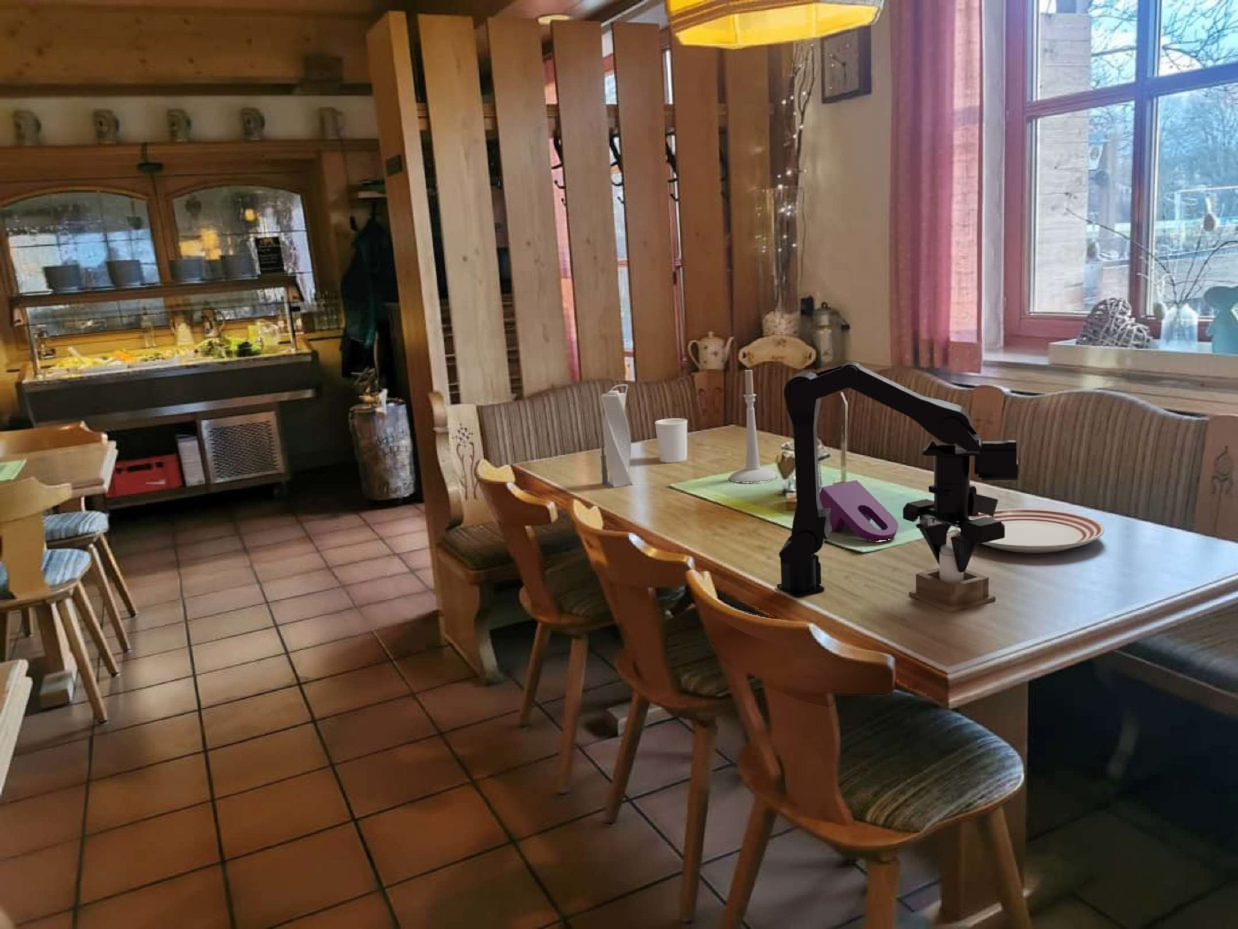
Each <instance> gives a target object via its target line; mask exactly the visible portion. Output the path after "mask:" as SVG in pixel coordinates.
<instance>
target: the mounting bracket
mask: <svg viewBox="0 0 1238 929" xmlns="http://www.w3.org/2000/svg"><path fill="white" fill-rule="evenodd" d="M819 495H820V501H821V504H822V507H823V509H825V508H831V512H830V524H831V526H832V529H831V530H832V531H831V532H836V531H840V530H843V529H844V528H845V526H846V525H848V526H849V528H850V529H851V530H852V531H853V532H854V533H855V534H856V535H857V536H859V537H860V538H862V539H864V540H866V541H868V540H871V541H879V540H888V539H892V538H893V537H894V536H895V537H896V534H897V531H898V529H899V523H898V520H897V519H896V518H895V516H893V515H892V514H891V513H890V511H888V510H887V509H886V508H885V507H884V505H882V503H881V502H879V501H878V499H877V498H876V497H874V496H873V495H872V494H871V493H870V492H869V491H868V490H867V489H866V488H865V487H864V486H863V485H862V484H861V483H860V482H859V481H858V480H857V479H854V480H850V481H845V482H839V483H835V484H831V485H830V484H829V485H825V486H822V487H821V488H820V491H819ZM871 520H872V521H873V522H874V524H876V525H877V527H879V528H880V529H878V528H877V527H875V526H874V524H872V523H871ZM839 529H840V530H839ZM835 530H836V531H835ZM895 537H894V538H895ZM894 538H893V539H894ZM893 539H892V540H893ZM871 541H870V542H871Z"/></svg>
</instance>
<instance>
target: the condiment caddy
mask: <svg viewBox="0 0 1238 929" xmlns="http://www.w3.org/2000/svg"><path fill="white" fill-rule="evenodd" d="M989 579H990V578H989V576H988V577H987V575H986V576H985V575H983V574H980V573H978V572H976V571H972V570H970V569H967V568H966V570H965V572H964V581H961V582H957V583H953V584H949V583H946V582H944V581H942V580H939V567H937V568H933V569H929V570H924V571H920V572H917V573H915V589H913V590H910V591H909V592H908V593H909V594H908V595H909V596H911V597H914V598H916V599H918V600H921V601H923V602H924V603H927V604H929V605H931V606H934V607H936V608H938V609H939V610H940V609H941V610H942V611H945V612H947V613H953V612H957V611H961V610H964V609H967V608H968V609H969V608H972V607H976V606H980V605H982V604H986V603H987V604H988V603H990V602H993V601H994V602H995V601H997V600H996V595H992V594H990V593H989V592H990V591H989V587H990V586H989V584H990V583H989V581H990V580H989Z"/></svg>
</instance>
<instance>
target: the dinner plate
mask: <svg viewBox="0 0 1238 929" xmlns="http://www.w3.org/2000/svg"><path fill="white" fill-rule="evenodd" d="M982 517H988V518H991V519H994V520H998V521H1001V522H1002V523H1003V524H1004V525H1005V538H1002V539H998V540H994V541H990V542H985V543H981V544H982V545H985V546H988V547H991V548H994V549H997V548H998V549H997V550H1002V551H1007V552H1013V553H1021V552H1023V554H1024V553H1025V554H1045V553H1046V554H1049V553H1055V552H1061V551H1065V550H1070V549H1073V548H1077V547H1081V546H1084V545H1087V544H1089V543H1092V542H1093V541H1096V540H1097V539H1099V538H1100V537H1102V535H1104V533H1105V526H1104V525H1103V524H1102V523H1101V522H1099V521H1098V520H1095V519H1093V518H1091V517H1088V516H1085V515H1082V514H1077V513H1074V512H1068V511H1062V510H1055V509H1040V508H1006V509H1005V508H1003V509H996V510H995V513H994V517H992V516H989V515H988V514H984V513H979V516H975V517H972V516H970V517H969V519H970V520H974V519H978V518H982ZM955 529H956V531H958V532H959V533H960V531H961V529H960V528H957V527H955Z"/></svg>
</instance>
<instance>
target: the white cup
mask: <svg viewBox="0 0 1238 929" xmlns="http://www.w3.org/2000/svg"><path fill="white" fill-rule="evenodd" d="M654 424H655V425H654V427H655V432H656V433H655V434H656V442H657V449H658V456H659V460H660V462H661V463H664V462H665V464H666V463H667V464H675V463H676V464H677V462H678V463H682V462H685V461H687V460H688V419H686V418H682V417H680V418H679V417H677V418H676V417H675V418H664V419H663V418H662V419H658V420H656V421H655V422H654Z"/></svg>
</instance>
